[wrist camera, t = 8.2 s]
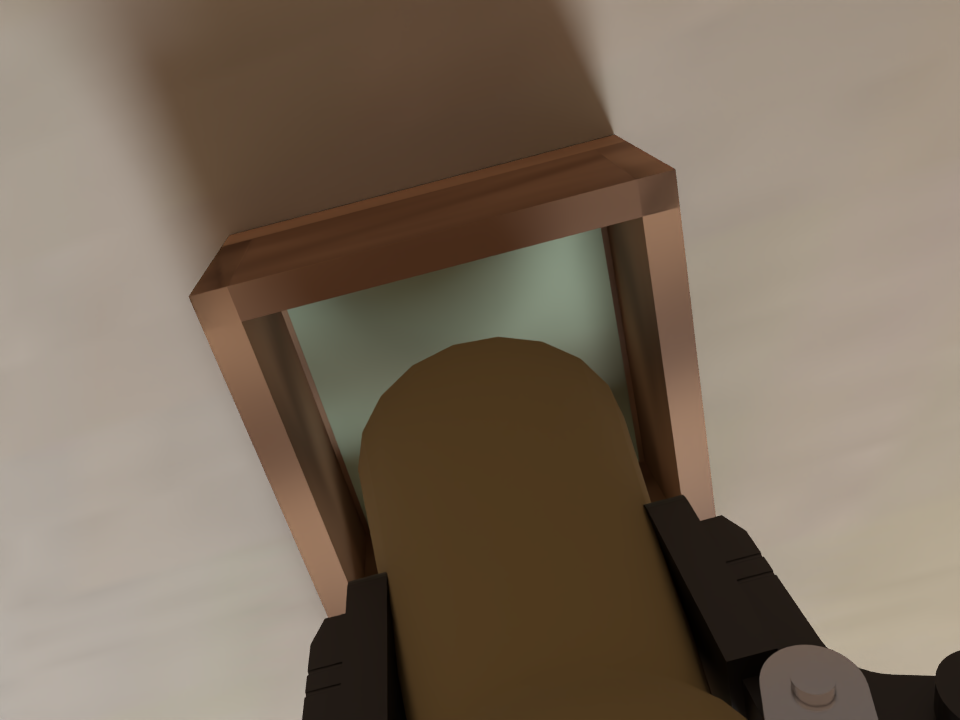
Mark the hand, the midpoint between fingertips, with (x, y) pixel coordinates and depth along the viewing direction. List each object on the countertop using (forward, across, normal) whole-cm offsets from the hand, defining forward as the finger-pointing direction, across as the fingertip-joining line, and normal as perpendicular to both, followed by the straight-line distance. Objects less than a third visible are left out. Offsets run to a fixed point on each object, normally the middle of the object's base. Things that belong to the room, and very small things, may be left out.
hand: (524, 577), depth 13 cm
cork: (+4, 0, 0) cm, 4 cm away
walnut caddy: (+9, 0, +5) cm, 11 cm away
